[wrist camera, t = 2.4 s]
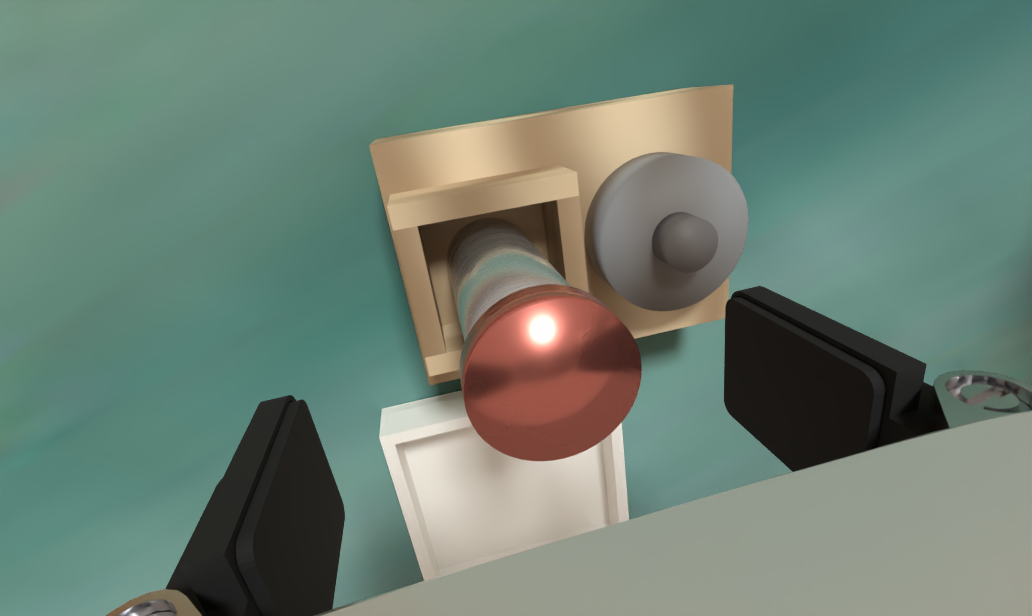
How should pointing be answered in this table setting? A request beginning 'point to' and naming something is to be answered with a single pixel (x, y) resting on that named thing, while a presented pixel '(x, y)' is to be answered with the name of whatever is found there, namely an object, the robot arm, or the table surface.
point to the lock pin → (535, 348)
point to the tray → (491, 488)
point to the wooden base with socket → (576, 207)
